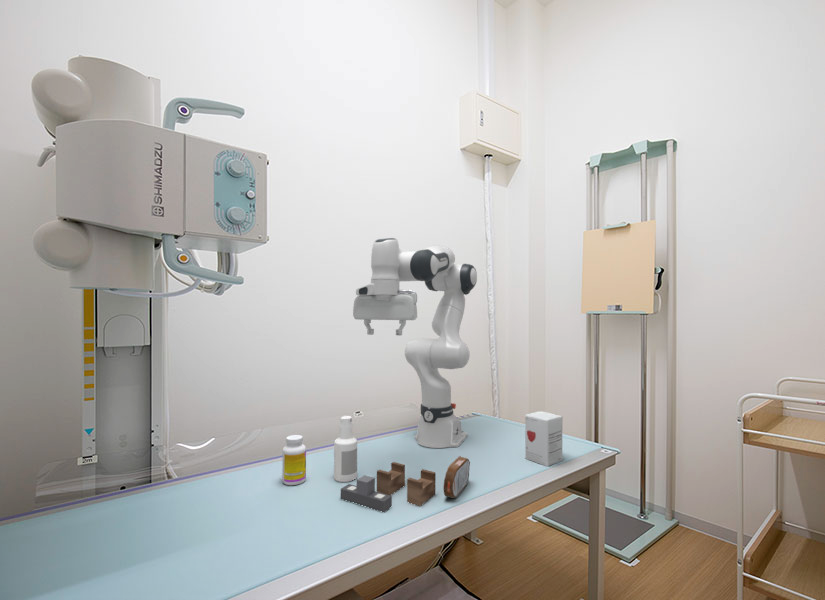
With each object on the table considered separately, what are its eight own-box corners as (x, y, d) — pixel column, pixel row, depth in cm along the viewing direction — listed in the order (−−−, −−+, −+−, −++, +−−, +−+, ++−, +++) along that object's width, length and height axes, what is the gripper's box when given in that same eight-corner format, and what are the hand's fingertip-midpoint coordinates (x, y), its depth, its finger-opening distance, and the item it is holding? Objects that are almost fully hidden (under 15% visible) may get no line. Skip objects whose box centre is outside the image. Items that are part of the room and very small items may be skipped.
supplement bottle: (308, 483, 119) (309, 438, 119) (285, 488, 115) (285, 442, 116) (302, 474, 124) (302, 432, 125) (279, 479, 121) (280, 435, 121)
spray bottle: (352, 483, 118) (352, 421, 119) (330, 481, 120) (330, 419, 120) (360, 474, 125) (360, 415, 125) (339, 472, 126) (339, 413, 127)
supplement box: (524, 458, 138) (524, 414, 138) (539, 453, 144) (539, 410, 144) (547, 467, 131) (547, 420, 131) (563, 460, 137) (563, 415, 137)
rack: (393, 482, 119) (393, 461, 119) (435, 494, 112) (435, 472, 112) (376, 493, 112) (376, 471, 112) (420, 506, 105) (420, 482, 105)
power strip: (348, 495, 112) (349, 471, 112) (391, 507, 105) (391, 482, 105) (340, 500, 109) (340, 475, 109) (384, 513, 102) (384, 487, 102)
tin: (461, 480, 121) (461, 451, 121) (471, 482, 120) (471, 453, 120) (442, 502, 107) (442, 469, 108) (453, 504, 106) (453, 471, 106)
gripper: (420, 290, 126) (419, 335, 125) (360, 290, 132) (359, 333, 132) (413, 289, 120) (413, 336, 119) (351, 289, 126) (350, 334, 126)
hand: (384, 335), depth 126 cm, fingers open, 8 cm apart
